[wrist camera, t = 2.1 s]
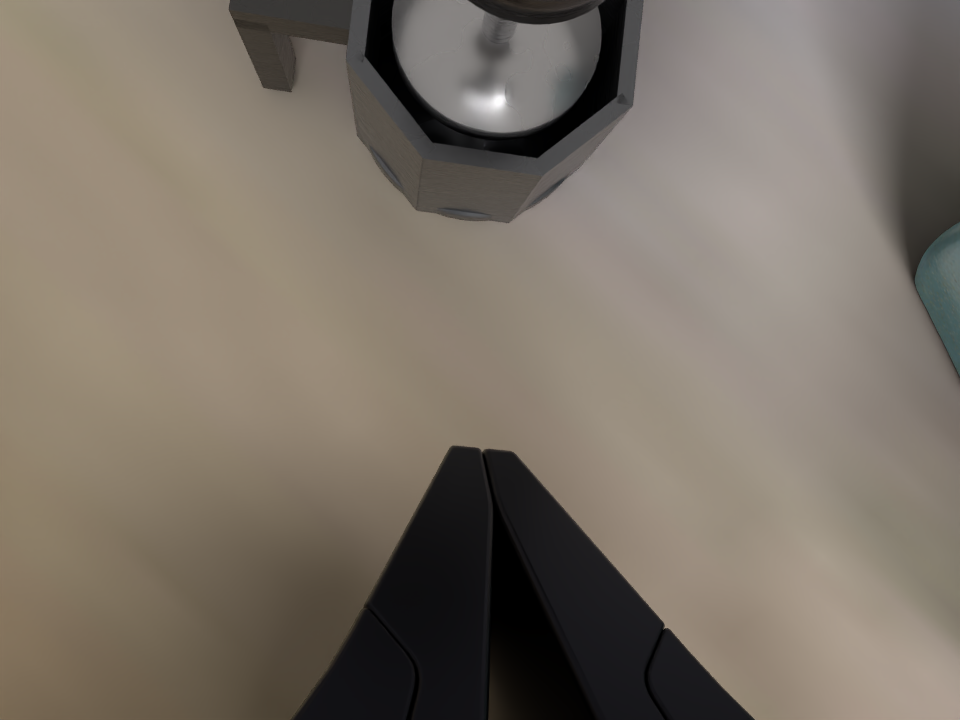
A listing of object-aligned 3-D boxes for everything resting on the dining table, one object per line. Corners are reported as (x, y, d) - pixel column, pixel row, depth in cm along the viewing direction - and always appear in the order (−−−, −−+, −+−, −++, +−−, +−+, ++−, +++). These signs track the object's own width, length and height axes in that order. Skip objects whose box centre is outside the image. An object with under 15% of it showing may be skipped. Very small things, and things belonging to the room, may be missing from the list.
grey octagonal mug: (575, 235, 22) (627, 192, 17) (252, 191, 21) (208, 131, 16) (598, 14, 22) (656, -91, 17) (281, -42, 21) (247, -171, 16)
